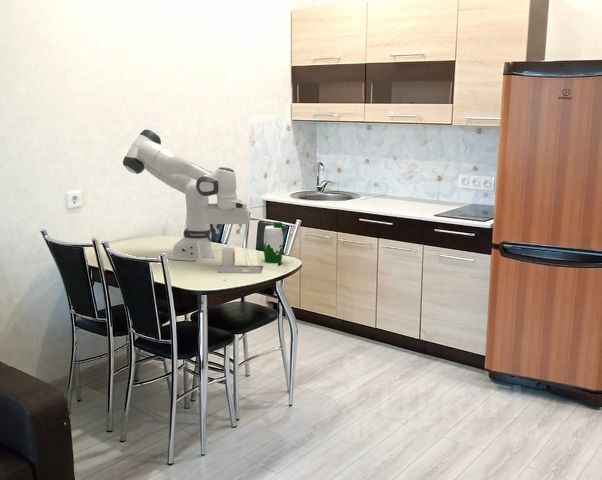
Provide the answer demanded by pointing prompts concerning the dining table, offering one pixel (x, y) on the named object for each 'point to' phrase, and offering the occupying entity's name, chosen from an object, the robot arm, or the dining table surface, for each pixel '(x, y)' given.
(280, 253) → the milk carton
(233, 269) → the rail
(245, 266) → the shelf board
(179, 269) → the dining table surface
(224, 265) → the carton
